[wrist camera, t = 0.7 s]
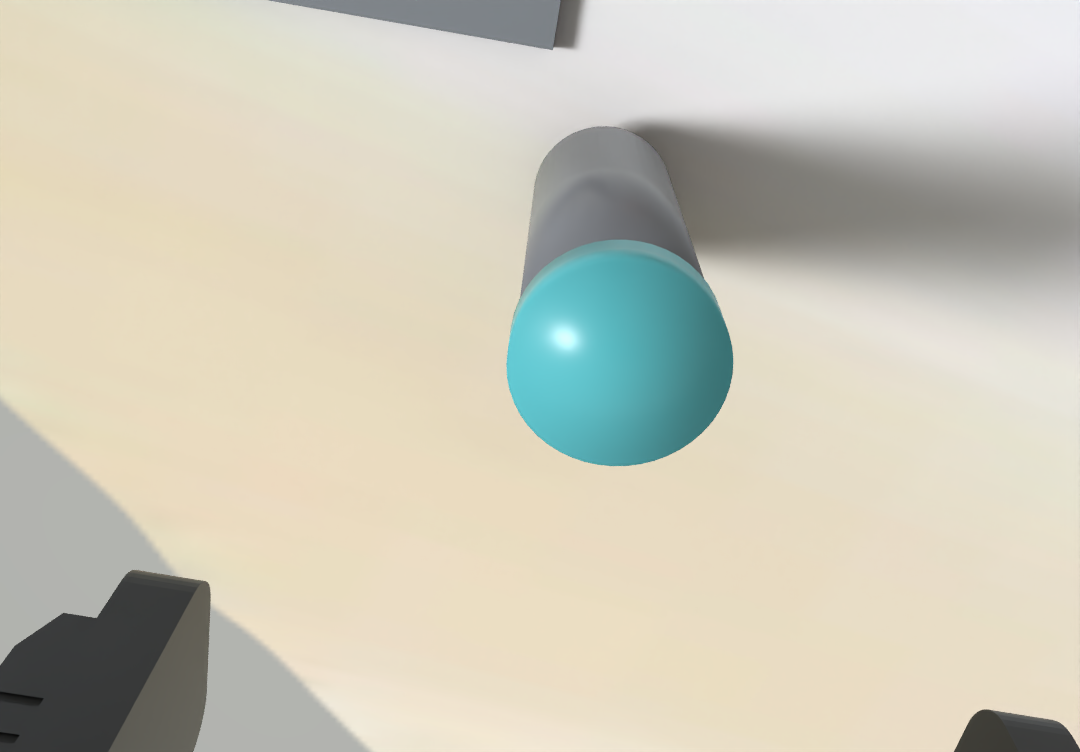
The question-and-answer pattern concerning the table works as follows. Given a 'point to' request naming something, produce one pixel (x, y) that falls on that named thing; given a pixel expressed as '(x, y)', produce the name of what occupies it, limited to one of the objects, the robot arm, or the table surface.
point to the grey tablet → (460, 16)
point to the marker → (614, 309)
